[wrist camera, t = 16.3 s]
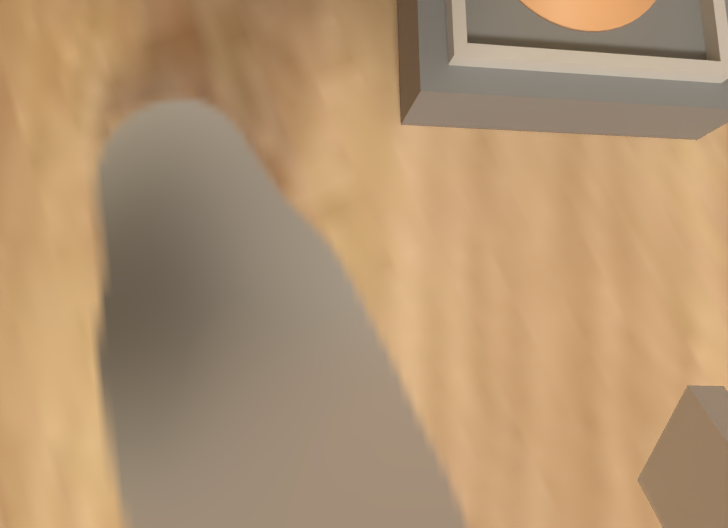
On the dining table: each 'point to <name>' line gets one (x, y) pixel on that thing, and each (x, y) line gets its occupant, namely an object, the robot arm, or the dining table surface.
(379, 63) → the dining table surface
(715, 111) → the grey square tray
